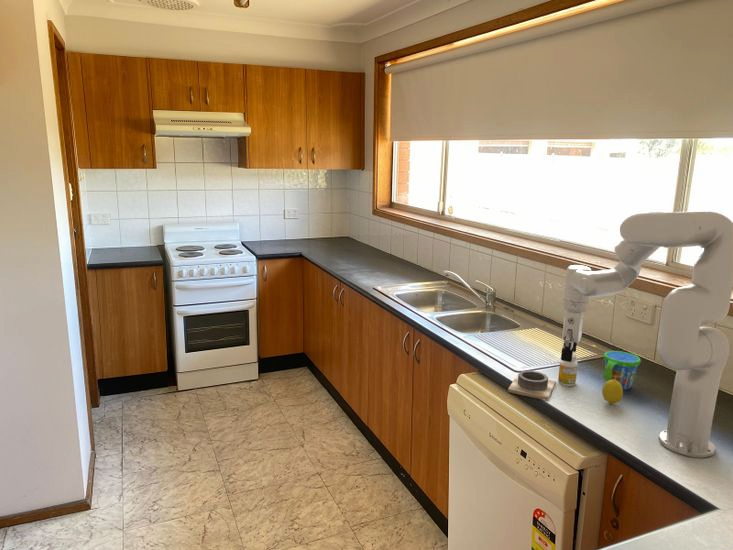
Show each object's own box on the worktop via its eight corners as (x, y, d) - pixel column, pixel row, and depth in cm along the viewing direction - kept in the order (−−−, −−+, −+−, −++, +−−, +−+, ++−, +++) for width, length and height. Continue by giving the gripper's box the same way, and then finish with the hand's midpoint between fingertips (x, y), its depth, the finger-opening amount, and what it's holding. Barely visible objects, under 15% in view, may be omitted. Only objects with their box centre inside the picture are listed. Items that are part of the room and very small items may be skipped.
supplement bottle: (559, 378, 184) (562, 350, 182) (576, 381, 181) (580, 353, 179) (556, 383, 179) (559, 355, 177) (573, 387, 177) (577, 358, 175)
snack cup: (618, 375, 187) (622, 347, 185) (648, 387, 178) (652, 357, 176) (588, 384, 179) (592, 354, 177) (617, 397, 171) (621, 366, 168)
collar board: (547, 400, 167) (549, 388, 166) (507, 391, 172) (508, 379, 171) (555, 384, 179) (556, 372, 178) (517, 376, 184) (519, 365, 184)
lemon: (624, 404, 165) (627, 379, 164) (616, 410, 162) (619, 384, 160) (605, 398, 169) (608, 374, 167) (597, 404, 165) (600, 379, 164)
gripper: (584, 314, 166) (577, 367, 170) (590, 300, 181) (584, 349, 185) (558, 309, 169) (551, 362, 173) (566, 296, 184) (560, 345, 188)
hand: (568, 355), depth 179 cm, fingers open, 9 cm apart
